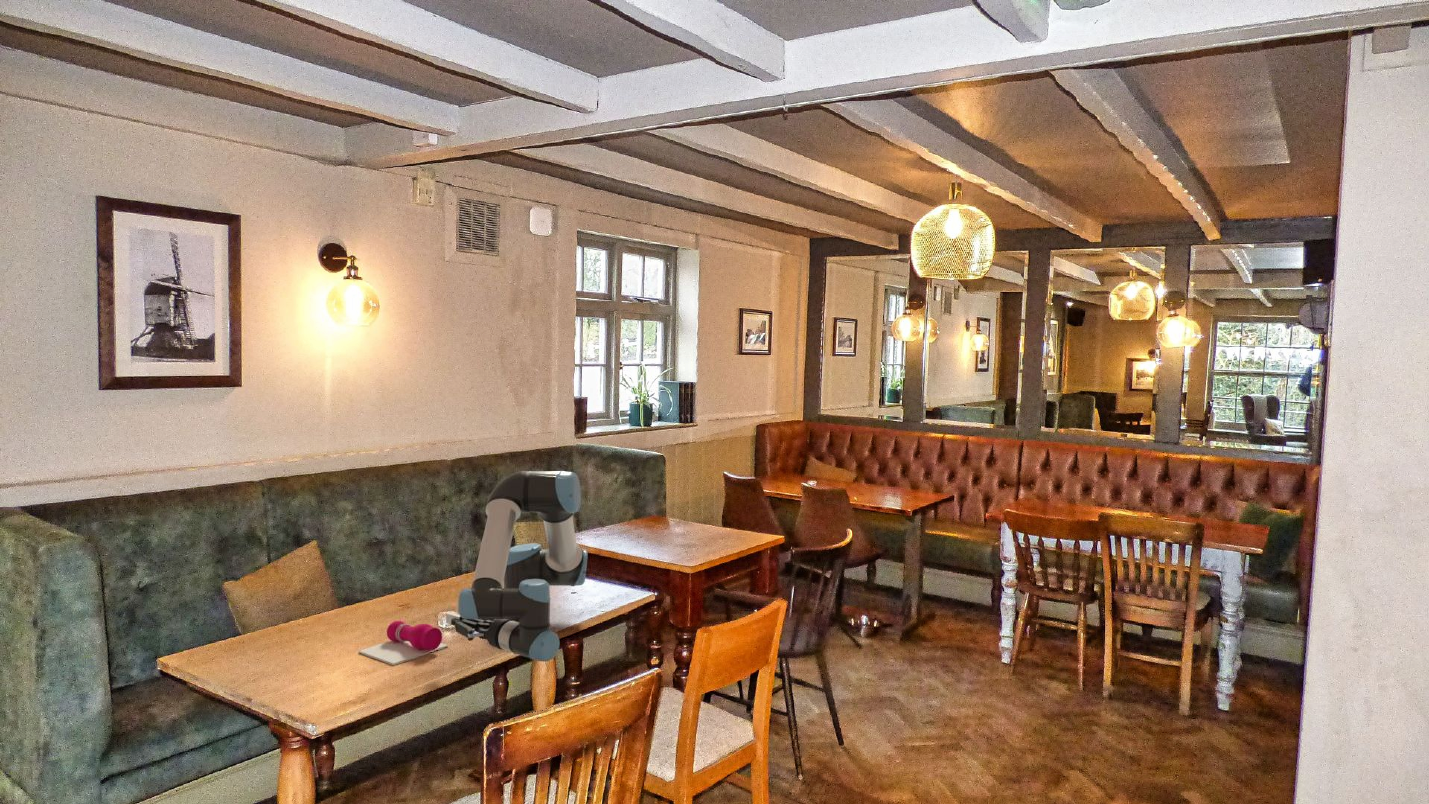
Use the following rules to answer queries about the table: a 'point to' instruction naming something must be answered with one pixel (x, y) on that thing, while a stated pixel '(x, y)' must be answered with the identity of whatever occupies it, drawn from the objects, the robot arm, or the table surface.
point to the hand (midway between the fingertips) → (448, 617)
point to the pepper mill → (415, 635)
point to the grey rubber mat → (396, 652)
